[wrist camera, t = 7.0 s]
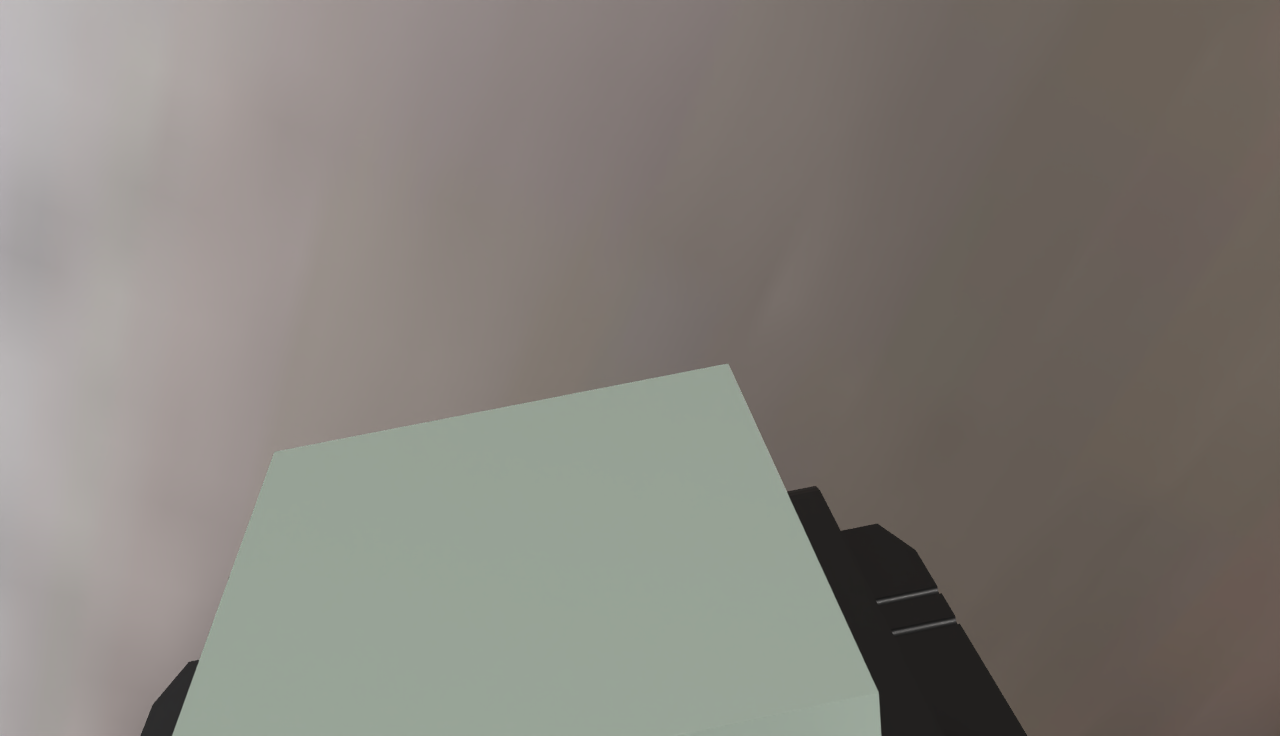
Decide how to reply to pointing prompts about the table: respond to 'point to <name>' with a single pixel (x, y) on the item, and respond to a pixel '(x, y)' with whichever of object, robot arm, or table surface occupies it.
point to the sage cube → (535, 582)
